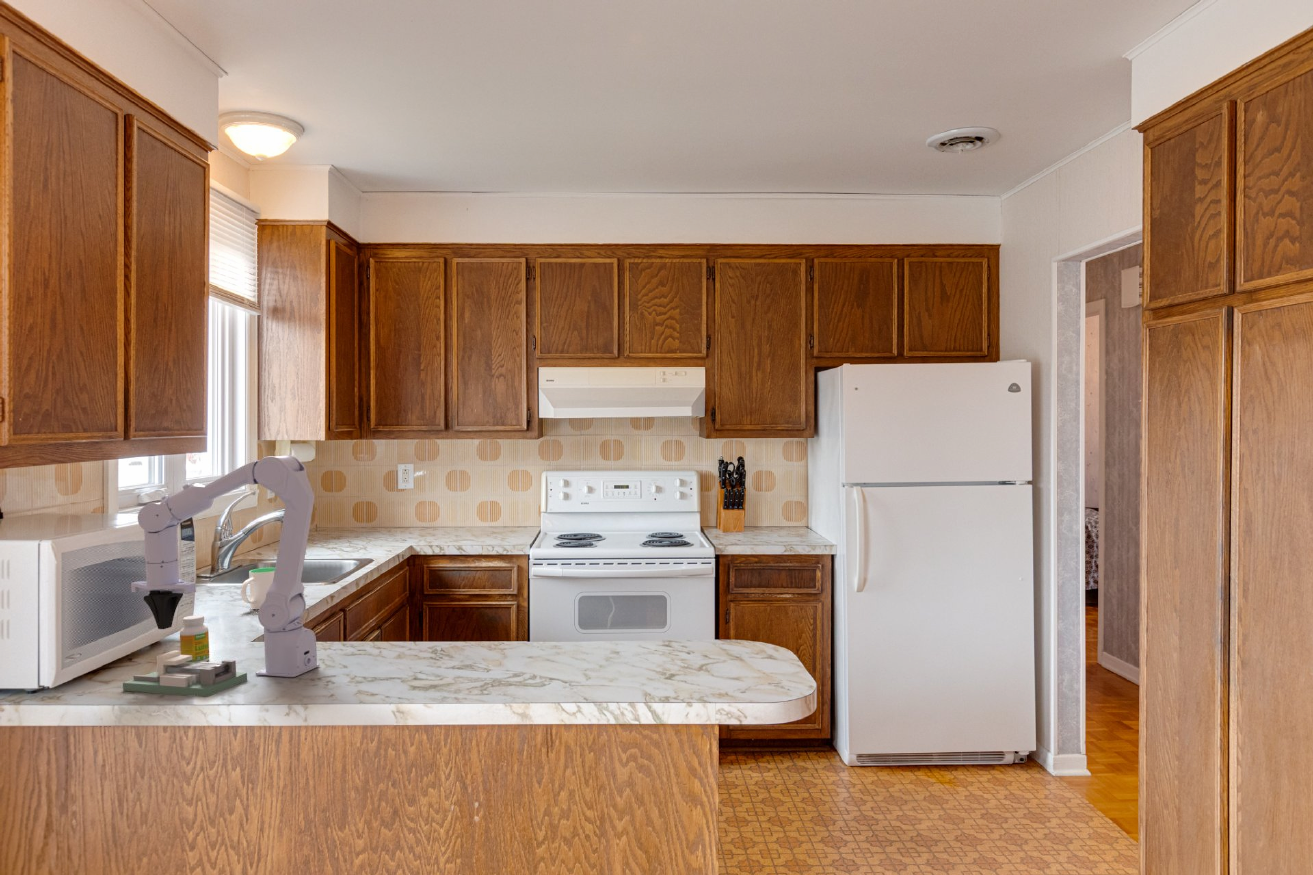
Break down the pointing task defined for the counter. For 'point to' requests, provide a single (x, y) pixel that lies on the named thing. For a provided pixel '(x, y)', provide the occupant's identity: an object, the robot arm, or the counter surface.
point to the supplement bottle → (195, 639)
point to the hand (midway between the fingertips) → (164, 628)
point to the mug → (258, 586)
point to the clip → (170, 661)
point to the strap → (197, 668)
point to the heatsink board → (188, 681)
